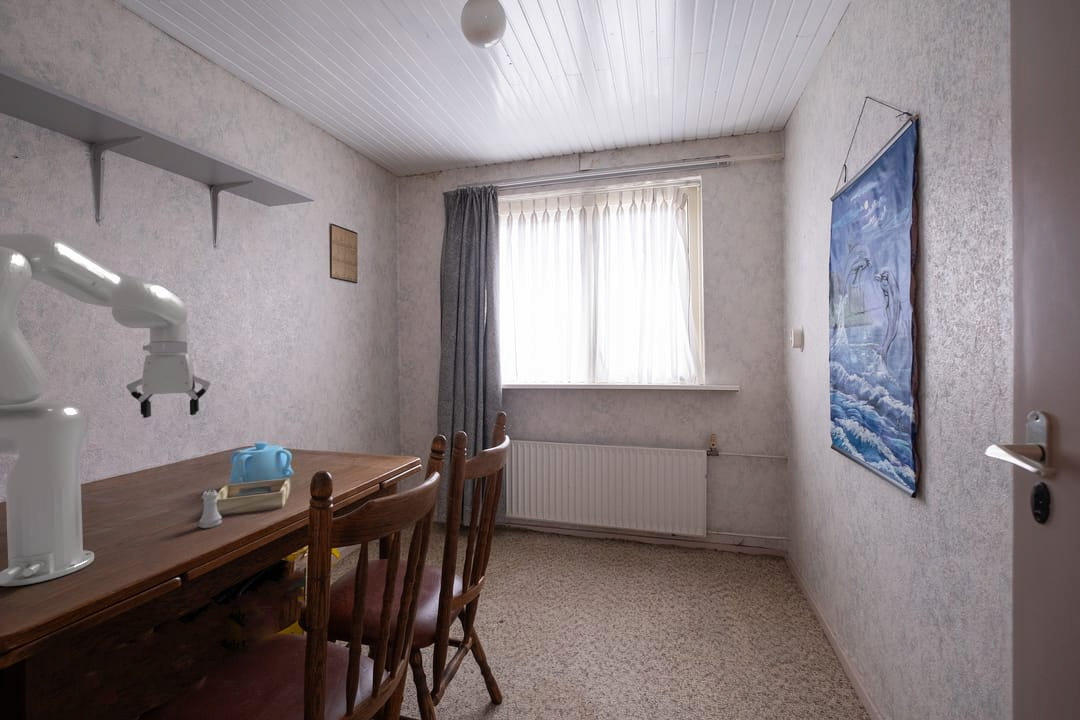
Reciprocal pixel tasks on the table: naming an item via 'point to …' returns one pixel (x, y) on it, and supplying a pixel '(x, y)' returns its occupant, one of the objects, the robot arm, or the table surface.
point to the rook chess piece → (210, 510)
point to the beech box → (252, 497)
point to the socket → (254, 491)
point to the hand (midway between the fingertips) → (170, 415)
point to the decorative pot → (260, 464)
